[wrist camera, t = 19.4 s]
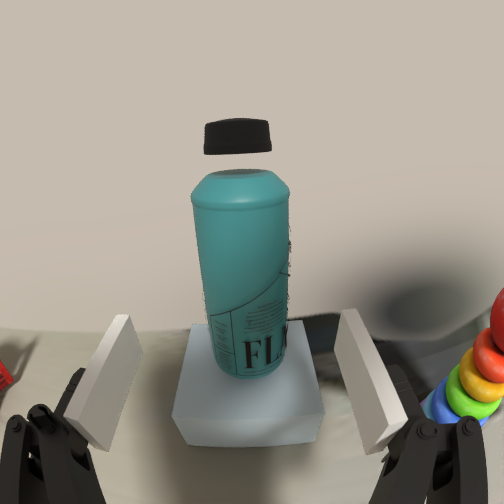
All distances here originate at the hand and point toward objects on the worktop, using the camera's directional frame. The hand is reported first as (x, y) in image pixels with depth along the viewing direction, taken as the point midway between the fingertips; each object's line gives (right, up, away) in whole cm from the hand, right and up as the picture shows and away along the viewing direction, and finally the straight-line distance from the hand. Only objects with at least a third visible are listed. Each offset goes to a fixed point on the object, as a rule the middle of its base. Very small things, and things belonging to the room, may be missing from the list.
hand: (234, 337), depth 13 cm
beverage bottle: (+1, -6, +10) cm, 12 cm away
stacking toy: (+19, -15, +5) cm, 24 cm away
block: (+1, -11, +13) cm, 17 cm away
